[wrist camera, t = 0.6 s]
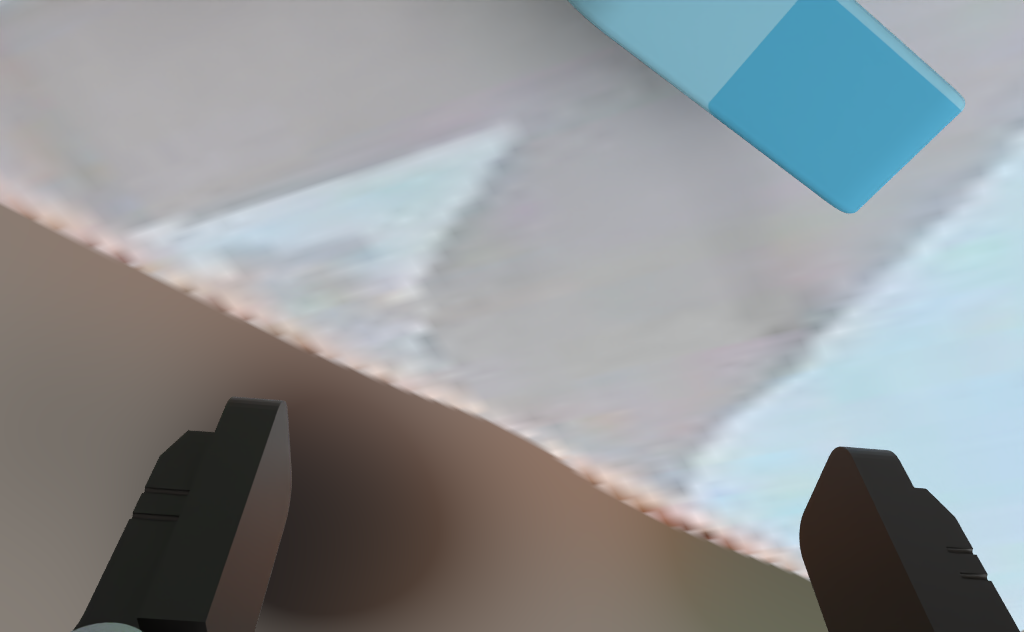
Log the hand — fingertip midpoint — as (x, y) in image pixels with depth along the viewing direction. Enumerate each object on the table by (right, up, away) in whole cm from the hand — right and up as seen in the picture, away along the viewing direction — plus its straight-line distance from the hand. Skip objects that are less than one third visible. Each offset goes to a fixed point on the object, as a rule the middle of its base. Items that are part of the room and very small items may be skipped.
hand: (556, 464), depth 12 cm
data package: (+7, +16, +20) cm, 27 cm away
